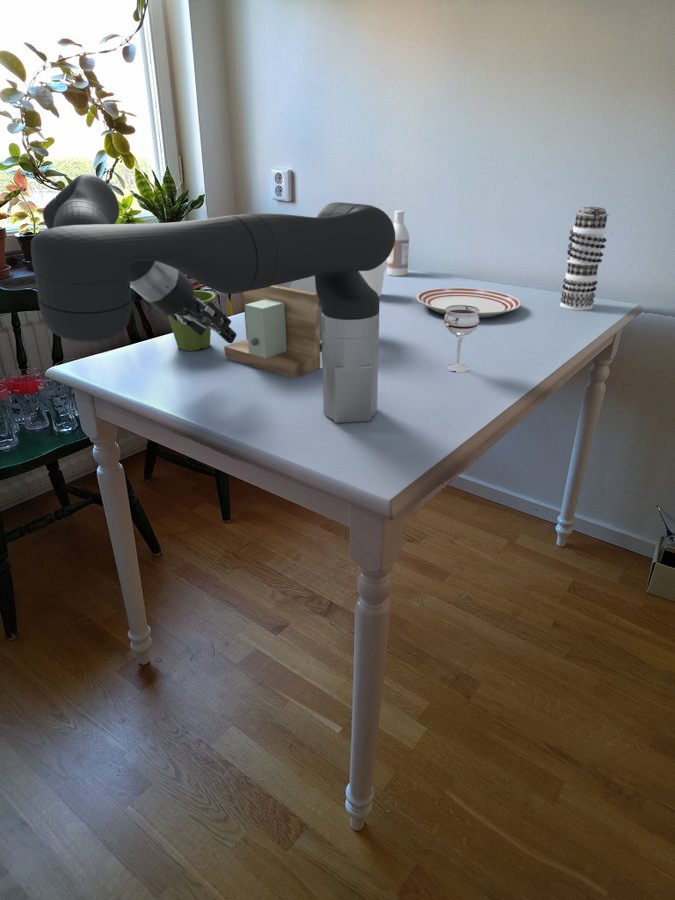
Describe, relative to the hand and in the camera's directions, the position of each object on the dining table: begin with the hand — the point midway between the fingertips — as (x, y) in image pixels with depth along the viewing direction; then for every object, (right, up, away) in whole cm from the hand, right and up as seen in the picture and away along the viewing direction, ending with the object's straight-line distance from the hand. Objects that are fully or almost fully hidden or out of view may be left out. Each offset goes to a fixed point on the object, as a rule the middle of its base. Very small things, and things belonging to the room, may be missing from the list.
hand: (217, 335), depth 114 cm
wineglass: (+47, -5, +9) cm, 48 cm away
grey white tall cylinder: (+87, +17, +51) cm, 103 cm away
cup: (+32, +23, +64) cm, 75 cm away
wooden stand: (+9, -3, +13) cm, 16 cm away
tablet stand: (+21, +5, +28) cm, 35 cm away
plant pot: (-10, +2, +23) cm, 25 cm away
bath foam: (+42, +37, +90) cm, 107 cm away
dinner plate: (+57, +16, +50) cm, 78 cm away
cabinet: (+8, -1, +11) cm, 14 cm away
